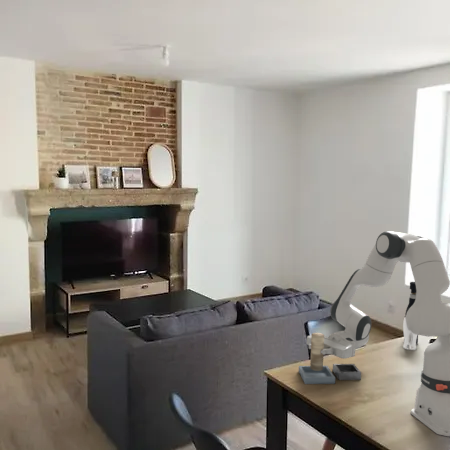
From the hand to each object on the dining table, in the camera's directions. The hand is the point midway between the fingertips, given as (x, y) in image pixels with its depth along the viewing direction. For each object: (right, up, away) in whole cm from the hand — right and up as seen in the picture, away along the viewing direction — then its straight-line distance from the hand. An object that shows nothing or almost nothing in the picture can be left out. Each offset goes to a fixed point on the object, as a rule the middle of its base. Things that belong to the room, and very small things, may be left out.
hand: (315, 349), depth 200 cm
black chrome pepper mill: (+55, -8, +46) cm, 72 cm away
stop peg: (+1, -8, +1) cm, 8 cm away
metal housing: (+13, -12, +4) cm, 18 cm away
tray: (+1, -12, +2) cm, 12 cm away
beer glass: (+52, -9, +38) cm, 64 cm away
